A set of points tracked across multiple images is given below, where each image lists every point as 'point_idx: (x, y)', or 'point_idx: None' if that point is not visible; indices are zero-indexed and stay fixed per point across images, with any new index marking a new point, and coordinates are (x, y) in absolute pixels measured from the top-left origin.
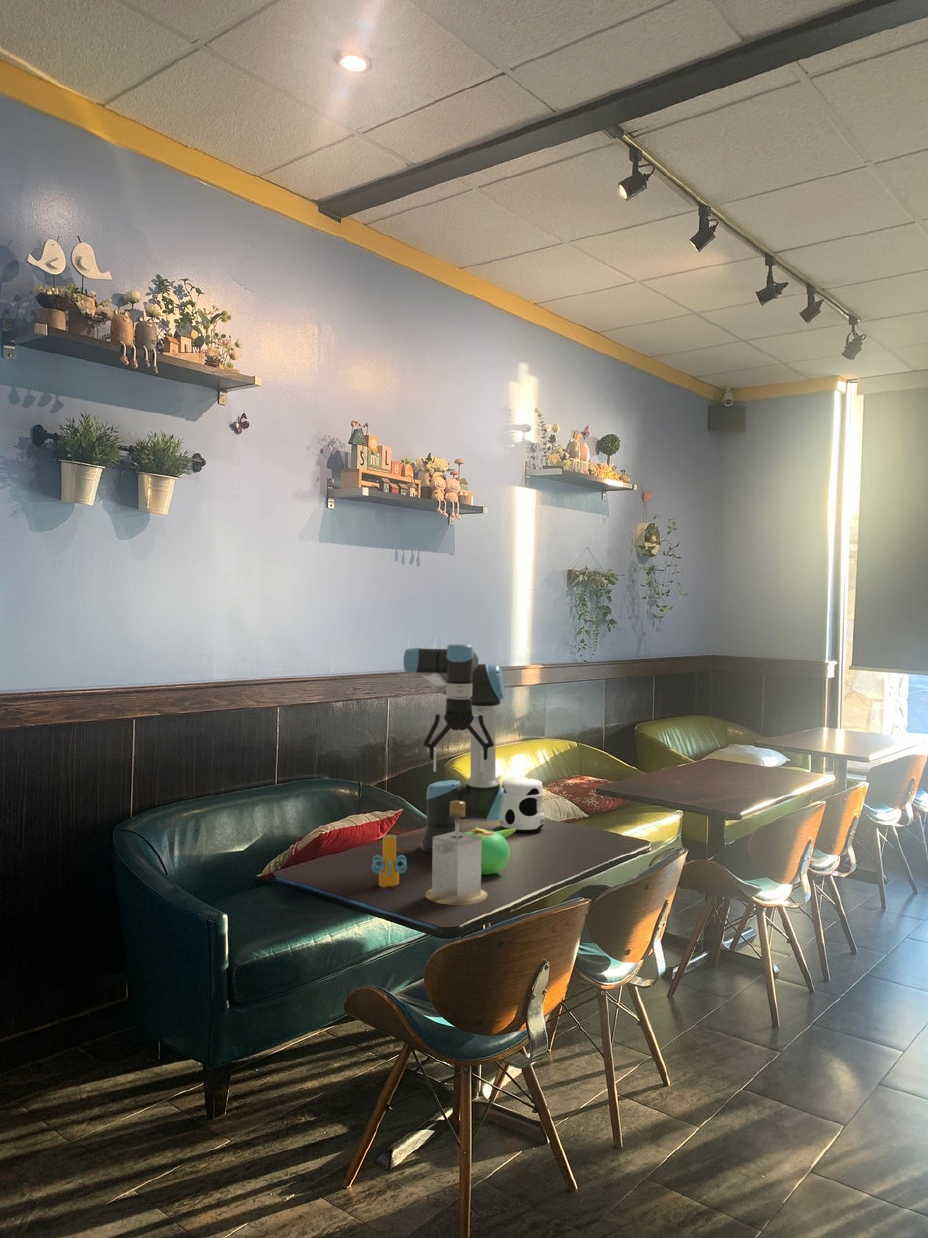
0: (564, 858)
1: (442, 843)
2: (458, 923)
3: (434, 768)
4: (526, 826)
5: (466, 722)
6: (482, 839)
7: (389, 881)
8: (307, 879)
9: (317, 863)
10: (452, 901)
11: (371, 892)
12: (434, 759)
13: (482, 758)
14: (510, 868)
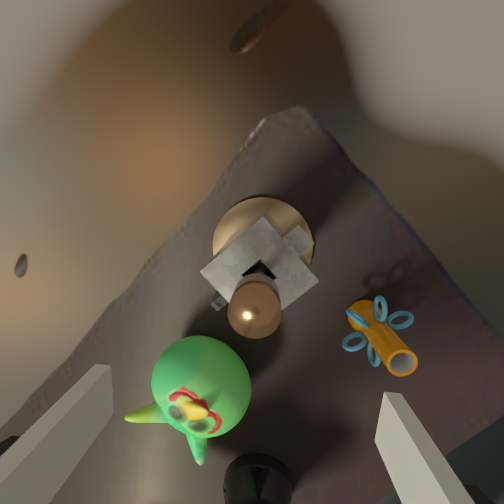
0: None
1: (296, 253)
2: (272, 118)
3: (404, 409)
4: None
5: None
6: (196, 377)
7: (368, 303)
8: (492, 357)
9: (464, 433)
10: (272, 214)
11: (395, 283)
12: (446, 471)
13: (30, 437)
14: None
